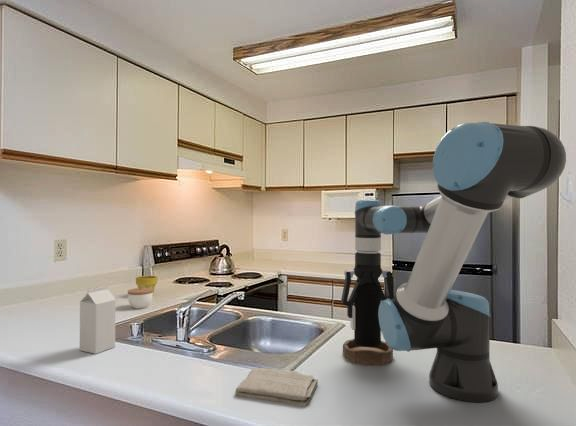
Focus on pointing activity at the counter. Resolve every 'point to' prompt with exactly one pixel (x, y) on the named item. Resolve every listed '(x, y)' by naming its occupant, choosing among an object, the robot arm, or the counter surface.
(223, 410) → the counter surface
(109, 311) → the milk carton
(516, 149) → the robot arm
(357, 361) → the round tray
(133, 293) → the lidded jar
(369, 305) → the aerosol can
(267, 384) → the washcloth
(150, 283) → the plant pot
